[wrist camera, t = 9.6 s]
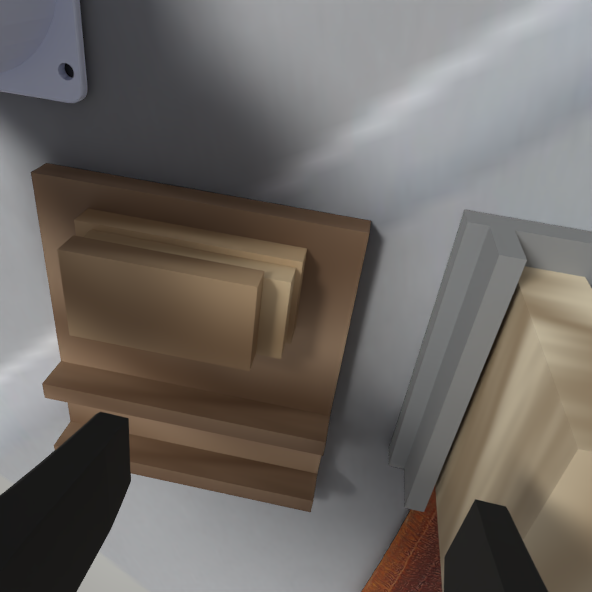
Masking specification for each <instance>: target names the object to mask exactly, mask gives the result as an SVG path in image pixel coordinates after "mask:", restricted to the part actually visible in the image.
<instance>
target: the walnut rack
mask: <svg viewBox="0 0 592 592" xmlns="http://www.w3.org/2000/svg"><path fill="white" fill-rule="evenodd" d="M31 175H32V182H33V188H34V194H35V201H36V207H37V213H38V219H39V226H40V232H41V238H42V245H43V251H44V257H45V263H46V270H47V276H48V282H49V289H50V295H51V301H52V307H53V314H54V320H55V326H56V333H57V339H58V345H59V351H60V358H61V362H60V363H59V364H58V365H57V366H56V368H55V369H54V370H53V371H52V373H51V374H50V375H49V376H48V377H47V379H46V380H45V381H44V382H43V383H42V385H43V390H44V395H45V398H49V399H54V400H59V401H64V402H68V408H69V414H70V420H71V422H70V423H69V425H68V426H67V427H66V429H65V430H64V432H63V433H62V435H61V436H60V437H59V439H58V440H57V442H56V443H55V445H54V448H55V450H56V449H57V448H58V447H59V446H61V445H62V444H63V443H64V442H65V441H66V440H67V439H69V438H70V437H71V436H72V435H73V434H74V433H75V432H77V431H78V430H79V429H80V428H81V427H82V426H83V425H84V424H85V423H87V422H88V421H89V420H90V419H91V418H92V417H93V416H94V415H95V414H97V413H99V412H104V413H109V414H113V415H117V416H122V417H126V418H129V444H130V473H132V474H137V475H142V476H146V477H151V478H155V479H160V480H165V481H169V482H174V483H179V484H183V485H188V486H192V487H197V488H202V489H206V490H211V491H215V492H220V493H225V494H229V495H234V496H238V497H243V498H248V499H252V500H257V501H261V502H266V503H271V504H275V505H280V506H285V507H289V508H294V509H298V510H303V511H308V512H311V508H312V504H313V498H314V492H315V485H316V479H317V473H318V468H319V464H320V459H321V456H323V453H324V449H325V444H326V439H327V432H328V425H329V418H330V413H331V408H332V404H333V399H334V394H335V390H336V385H337V381H338V376H339V371H340V367H341V362H342V358H343V353H344V348H345V344H346V339H347V334H348V330H349V325H350V321H351V316H352V311H353V307H354V302H355V298H356V293H357V288H358V284H359V279H360V275H361V270H362V265H363V261H364V256H365V251H366V247H367V242H368V238H369V233H370V223H371V221H369V220H364V219H358V218H352V217H347V216H341V215H336V214H330V213H324V212H319V211H313V210H308V209H302V208H296V207H291V206H285V205H279V204H274V203H268V202H263V201H257V200H251V199H246V198H240V197H234V196H229V195H223V194H218V193H212V192H206V191H201V190H195V189H190V188H184V187H178V186H173V185H167V184H161V183H156V182H150V181H145V180H139V179H133V178H128V177H122V176H116V175H111V174H105V173H100V172H94V171H88V170H83V169H77V168H72V167H66V166H60V165H55V164H49V163H46V164H44V165H42V166H41V167H39V168H37V169H36V170H34V171H32V172H31ZM88 208H89V209H94V210H100V211H105V212H110V213H116V214H121V215H127V216H132V217H138V218H143V219H149V220H154V221H160V222H165V223H171V224H176V225H181V226H187V227H192V228H198V229H203V230H209V231H214V232H220V233H225V234H231V235H236V236H242V237H247V238H253V239H258V240H263V241H269V242H274V243H280V244H285V245H291V246H296V247H302V248H307V253H306V259H305V266H304V273H303V280H302V286H301V293H300V300H299V307H298V313H297V320H296V327H295V331H294V335H293V338H292V342H291V344H288V343H285V346H284V350H283V353H282V357H281V359H278V358H273V357H268V356H263V355H258V354H256V355H255V357H254V360H253V363H252V366H251V369H250V371H246V370H241V369H236V368H231V367H226V366H221V365H216V364H211V363H206V362H201V361H196V360H191V359H186V358H181V357H176V356H171V355H166V354H161V353H156V352H151V351H146V350H141V349H136V348H131V347H126V346H121V345H116V344H111V343H106V342H101V341H96V340H91V339H86V338H81V337H76V336H71V335H69V328H68V321H67V314H66V307H65V300H64V293H63V286H62V279H61V272H60V265H59V258H58V251H57V249H58V248H59V247H60V246H62V245H63V244H64V243H65V242H66V241H67V240H68V239H70V238H71V237H72V236H73V235H75V236H76V232H75V224H74V220H75V219H76V218H77V217H78V216H79V215H81V214H82V213H83V212H84V211H85V210H87V209H88Z"/></svg>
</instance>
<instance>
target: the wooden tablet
mask: <svg viewBox="0 0 592 592" xmlns="http://www.w3.org/2000/svg"><path fill="white" fill-rule="evenodd" d="M361 592H442V579H441V564H440V549H439V534H438V520H437V505H436V490H435V486H434V489H433V491H432V494H431V496H430V498H429V501H428V503H427V506H426V508H425V511H424V512H421V511H417V510H412V509H410V511H409V513H408V515H407V517H406V519H405V521H404V522H403V524H402V526H401V528H400V530H399V532H398V534H397V535H396V537H395V539H394V540H393V542H392V543H391V545H390V547H389V549H388V550H387V552H386V553H385V555H384V557H383V559H382V560H381V562H380V563H379V565H378V566H377V568H376V569H375V571H374V573H373V574H372V576H371V578H370V579H369V581H368V582H367V584H366V585H365V587H364V588H363V590H362V591H361Z"/></svg>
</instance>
